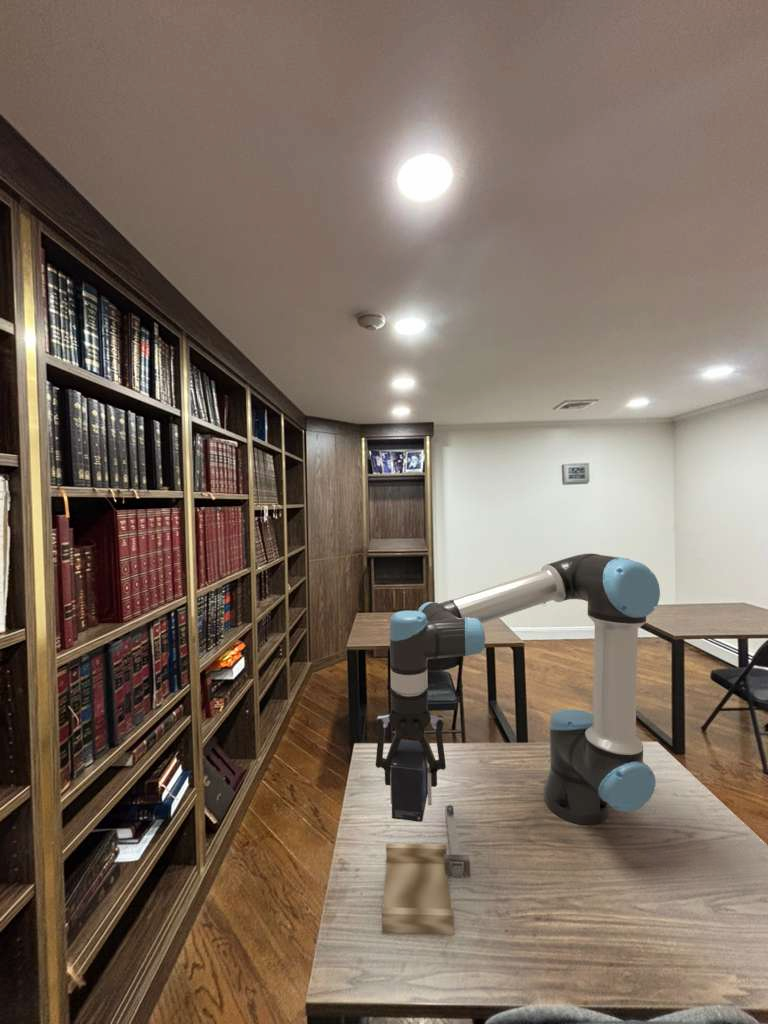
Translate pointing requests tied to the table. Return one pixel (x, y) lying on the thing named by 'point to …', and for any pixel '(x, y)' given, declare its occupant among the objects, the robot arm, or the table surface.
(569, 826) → the table surface
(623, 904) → the table surface
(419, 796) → the small box
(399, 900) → the cradle
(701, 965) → the table surface
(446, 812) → the lock bolt
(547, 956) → the table surface
